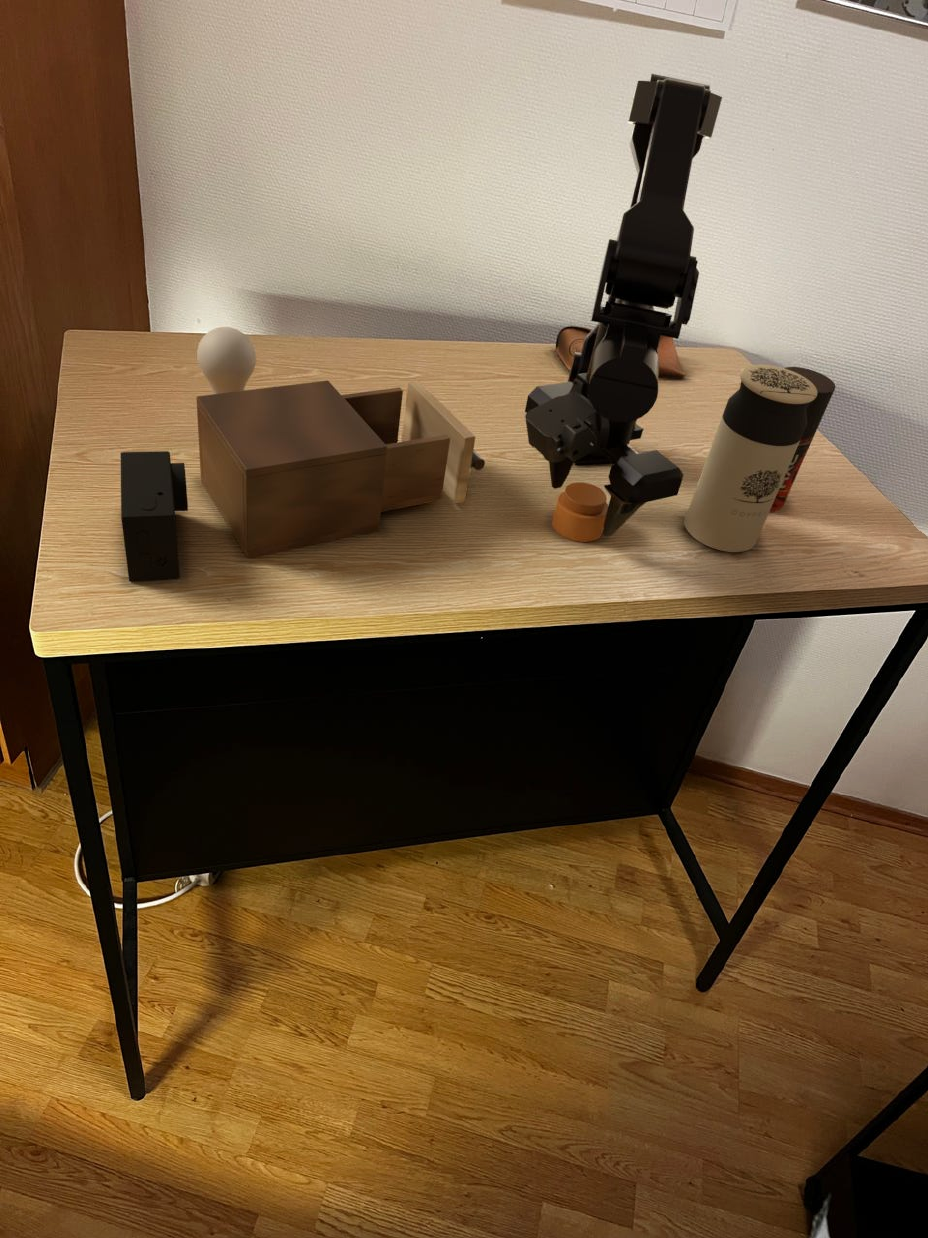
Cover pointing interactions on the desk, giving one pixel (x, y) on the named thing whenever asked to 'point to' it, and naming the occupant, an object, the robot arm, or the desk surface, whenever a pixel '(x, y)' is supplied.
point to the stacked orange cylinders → (580, 512)
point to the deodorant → (806, 429)
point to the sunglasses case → (574, 336)
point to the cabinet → (290, 466)
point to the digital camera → (151, 513)
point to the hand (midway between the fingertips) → (581, 510)
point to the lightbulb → (226, 359)
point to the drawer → (418, 446)
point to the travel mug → (749, 457)
